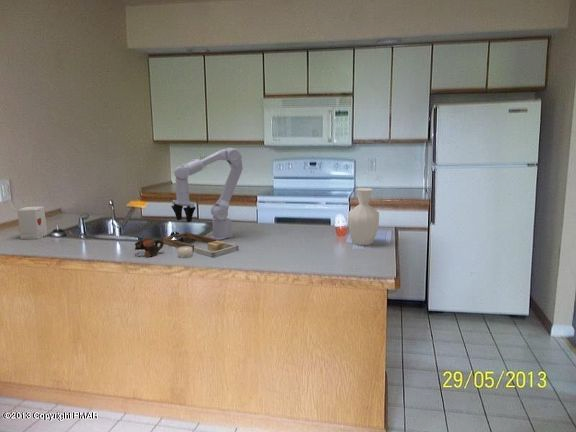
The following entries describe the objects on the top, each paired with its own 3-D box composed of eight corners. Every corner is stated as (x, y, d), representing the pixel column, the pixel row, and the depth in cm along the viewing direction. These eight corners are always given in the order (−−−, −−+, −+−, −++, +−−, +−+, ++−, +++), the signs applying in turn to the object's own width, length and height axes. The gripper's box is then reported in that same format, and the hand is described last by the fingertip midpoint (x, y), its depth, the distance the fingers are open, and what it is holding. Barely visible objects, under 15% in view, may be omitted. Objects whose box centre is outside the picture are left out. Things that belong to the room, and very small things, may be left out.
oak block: (217, 249, 203) (217, 240, 202) (226, 251, 199) (226, 242, 198) (207, 251, 199) (207, 243, 199) (216, 254, 195) (216, 245, 194)
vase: (342, 245, 207) (343, 190, 202) (353, 237, 219) (354, 186, 214) (373, 248, 201) (374, 192, 195) (382, 241, 213) (384, 188, 208)
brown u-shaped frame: (187, 237, 224) (186, 232, 224) (217, 244, 210) (217, 239, 209) (162, 243, 214) (161, 238, 213) (192, 251, 199) (191, 246, 199)
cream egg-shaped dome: (186, 253, 197) (186, 245, 197) (195, 255, 193) (195, 247, 193) (175, 256, 193) (174, 248, 192) (184, 259, 189) (183, 250, 188)
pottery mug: (139, 260, 189) (132, 242, 190) (140, 264, 198) (133, 246, 199) (167, 249, 193) (160, 232, 195) (166, 253, 202) (160, 236, 203)
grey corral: (220, 245, 209) (220, 241, 208) (238, 249, 201) (238, 245, 201) (195, 252, 198) (194, 247, 198) (213, 257, 190) (213, 252, 190)
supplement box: (38, 239, 224) (34, 209, 221) (20, 239, 224) (16, 209, 221) (48, 234, 233) (44, 206, 230) (30, 234, 233) (27, 206, 230)
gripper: (166, 192, 214) (167, 220, 217) (185, 194, 205) (186, 224, 207) (178, 190, 219) (180, 217, 222) (197, 192, 210) (199, 221, 213)
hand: (184, 220), depth 215 cm, fingers open, 7 cm apart
